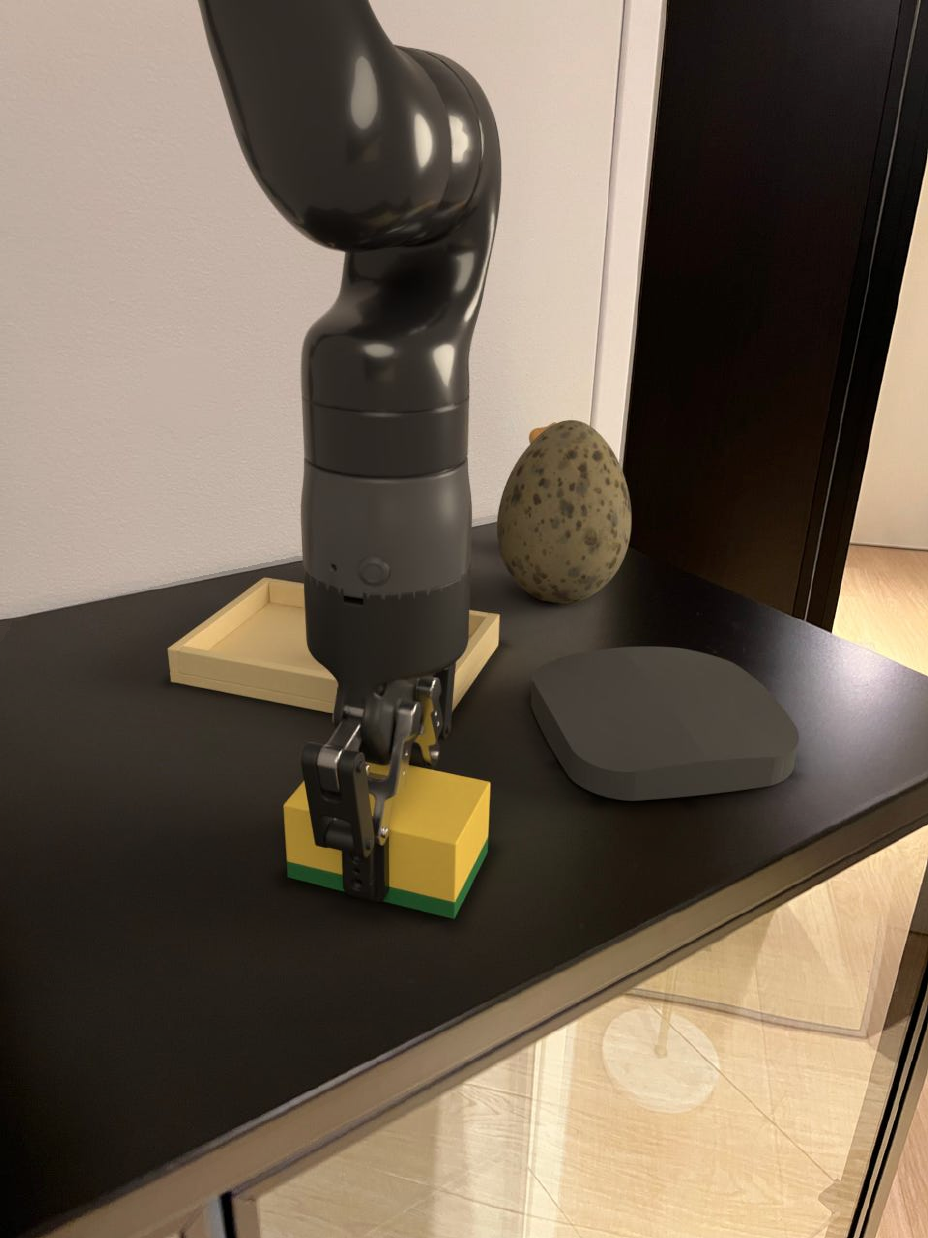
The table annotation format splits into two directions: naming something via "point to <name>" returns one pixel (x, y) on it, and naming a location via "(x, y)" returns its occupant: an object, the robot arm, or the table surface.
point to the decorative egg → (565, 515)
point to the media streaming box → (661, 723)
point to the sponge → (408, 841)
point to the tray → (287, 650)
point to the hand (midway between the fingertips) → (389, 857)
